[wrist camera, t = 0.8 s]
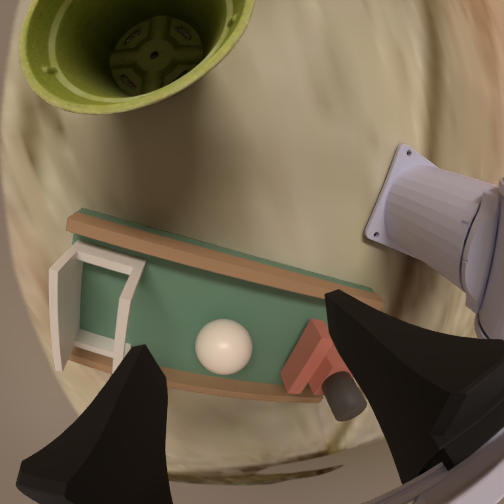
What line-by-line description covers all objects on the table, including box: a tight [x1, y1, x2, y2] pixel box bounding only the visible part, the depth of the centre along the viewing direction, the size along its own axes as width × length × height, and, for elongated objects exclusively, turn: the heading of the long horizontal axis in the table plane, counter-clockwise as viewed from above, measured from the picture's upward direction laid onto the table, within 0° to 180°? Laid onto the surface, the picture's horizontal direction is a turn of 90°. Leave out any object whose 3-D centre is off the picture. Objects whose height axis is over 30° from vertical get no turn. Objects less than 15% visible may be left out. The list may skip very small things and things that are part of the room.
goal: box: [49, 240, 146, 374], centre depth 16 cm, size 5×8×5 cm, turn 160°
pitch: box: [66, 208, 385, 403], centre depth 21 cm, size 24×12×2 cm, turn 70°
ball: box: [195, 319, 253, 375], centre depth 19 cm, size 4×4×4 cm
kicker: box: [280, 318, 367, 421], centre depth 20 cm, size 4×6×7 cm, turn 160°
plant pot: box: [19, 0, 255, 115], centre depth 10 cm, size 9×9×9 cm
